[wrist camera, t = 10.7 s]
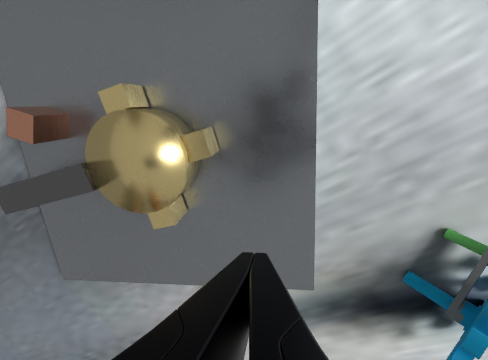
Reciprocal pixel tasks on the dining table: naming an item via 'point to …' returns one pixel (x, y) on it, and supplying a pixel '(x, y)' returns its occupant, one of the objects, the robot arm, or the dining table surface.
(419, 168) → the dining table surface
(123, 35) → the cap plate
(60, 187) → the gold lugged knob
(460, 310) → the blue branched piece
